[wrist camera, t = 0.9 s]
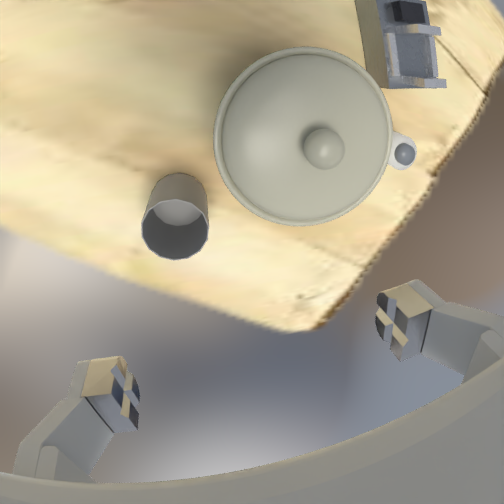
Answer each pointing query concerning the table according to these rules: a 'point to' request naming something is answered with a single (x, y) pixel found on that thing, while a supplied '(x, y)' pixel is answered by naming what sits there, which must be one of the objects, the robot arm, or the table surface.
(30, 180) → the table surface
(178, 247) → the cup
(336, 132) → the canister
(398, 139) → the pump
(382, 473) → the robot arm
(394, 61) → the grey holder stand
